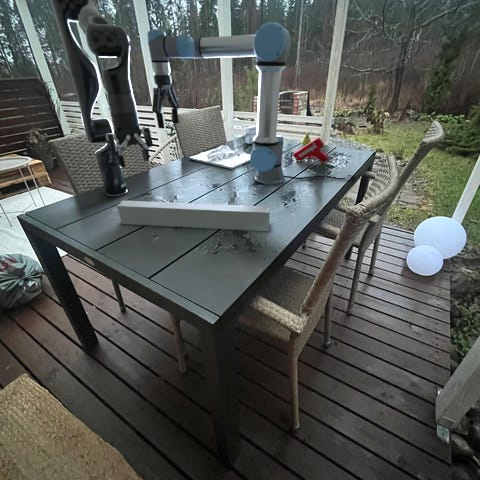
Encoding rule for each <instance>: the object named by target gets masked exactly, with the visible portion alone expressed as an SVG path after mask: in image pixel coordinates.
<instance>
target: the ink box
mask: <svg viewBox="0 0 480 480" xmlns="http://www.w3.org/2000/svg"><path fill="white" fill-rule="evenodd" d="M256 135H257V125H256V126H255V125H251V126H246V127H245V144H248V145H251V144H253V138H254V137H255V136H256Z"/></svg>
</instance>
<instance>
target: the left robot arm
mask: <svg viewBox="0 0 480 480" xmlns="http://www.w3.org/2000/svg"><path fill="white" fill-rule="evenodd" d="M49 1H50V5H51V8H52V11H53V15H54V17H55V18H54V19H55V21H56V24H57V27H58V30H59V33H60V37H61V40H62V44H63V47H64V52H65V56H66V60H67V64H68V70H69V74H70V77H71V81H72V85H73V88H74V91H75V94H76V99H77V101H78V106H79V110H80V116H81V120H82V125H83V131H84V134H85V137H86V139H87V141H88V142H89V143H91V144H99V143H105V145H104V146H103V147H100V149H97V150H96V151H95V158H96V162H97V164H98V168H99V172H100V176H101V178H102V182H103V185H104V189H105V193H106V196H108V197H112V198H115V197H122V196H125V195H126V194H127V193H128V192H129V191H128V189H127V183H126V180H125V176H124V173H123V168H126V167H127V166H126V162H125V158H124V154H123V153H124V150H126V148H127V147H131V146H132V145H134V146H136V145H138V146H139V147H140V148H141V154H142V160H143V161H144V162H149V161H150V152H149V148H151V147H153V146H154V143H153V139H152V138H153V137H152V134H151V129H150V127H146V126H142V127H140V120H139V115H138V109H137V104H136V100H135V97H134V93H133V88H132V83H131V77H130V54H131V41H130V37H129V34H128V33H127V31H126V30H125V27H122V26H121V25H118V24H110V23H109V22H108V21H107V19H106V17H104V16H103V15H102V14H101V13H100V12H99V11H98V9H97V7H96V5H95V3H94V1H93V0H49ZM70 22H71V23H78V27H79V28H80V30H81V31H82V32H83V34H84V35H85V39H86V43H87V47H88V49H89V51H90V52H91V53H92V54H93V55H95V56H96V57H98V58H116V63H115V65H113V66H111V67H107V68H104V69H103V70H102V71H101V74H102V76H101V77H102V79H103V80H102V81H103V84H104V89H105V93H106V100H107V105H108V110H109V114H110V118H111V121H110V120H109V118H104V117H103V118H95V119H94V118H93V119H92V117H93V116H92V115H93V111H94V110H93V109H94V106H95V104H96V102H97V100H98V97H99V95H100V92H101V89H102V85H101V84H102V83H101V80H100V75H99V70H98V67H97V65H96V63H95V62H94V60H93V58H92V57H91V56H90V55H89V54H88V53H87V51H86V50H85V49H84V47H83V46H82V45H81V44H80V43H79V41H78V40H77V38H76V36H75V35H74V33H73V31H72V28H71V26H70ZM142 135H143V139H142V138H141V136H142ZM116 140H117V142H116Z"/></svg>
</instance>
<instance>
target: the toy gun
mask: <svg viewBox="0 0 480 480" xmlns="http://www.w3.org/2000/svg"><path fill="white" fill-rule="evenodd" d="M324 145H325V143H324V142H323V140H322V138H321V137H320V136H318V137H316V138H314V139H313V140H311V142H310V143H309V144H307V145H306V146H302V147H301V148H299V149H298V150H296V151H295V152H294V153H293V158H294V159H295V160H296V163H300V162H301V161H297V160H302V161H303V160H305V159H306V158H309V160H313V159H314V158H316V159H317V160H319V161H320V163H321V162H324V163H325V161H326V163H327V162H328V159H329V156H328V155H327V154H326V153H325V152H323V151H322V150H321V149H323V147H324ZM324 163H321V165H323V164H324Z"/></svg>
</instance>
